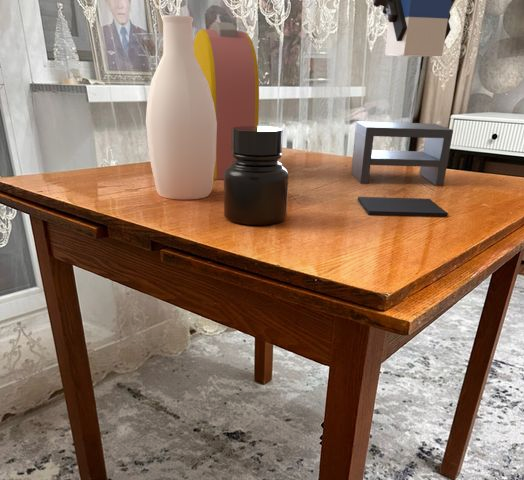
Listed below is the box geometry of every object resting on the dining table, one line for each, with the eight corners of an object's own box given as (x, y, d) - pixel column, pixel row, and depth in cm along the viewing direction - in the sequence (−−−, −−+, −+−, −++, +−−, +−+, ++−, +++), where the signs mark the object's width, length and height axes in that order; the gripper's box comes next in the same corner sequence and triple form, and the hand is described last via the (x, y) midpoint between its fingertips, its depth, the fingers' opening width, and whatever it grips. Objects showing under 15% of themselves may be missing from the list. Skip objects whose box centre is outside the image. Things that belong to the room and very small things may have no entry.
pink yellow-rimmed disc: (258, 178, 105) (262, 20, 93) (212, 179, 103) (210, 17, 90) (231, 161, 123) (232, 26, 111) (192, 161, 120) (187, 24, 108)
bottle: (139, 198, 87) (124, 12, 75) (165, 185, 96) (156, 19, 85) (205, 203, 85) (201, 13, 73) (225, 190, 94) (224, 20, 82)
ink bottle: (300, 218, 78) (306, 129, 72) (263, 230, 72) (266, 134, 66) (248, 207, 83) (249, 123, 78) (209, 218, 77) (207, 127, 71)
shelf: (426, 174, 114) (434, 123, 110) (443, 185, 104) (453, 129, 99) (351, 172, 114) (356, 121, 109) (360, 183, 103) (366, 127, 99)
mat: (428, 202, 90) (429, 198, 90) (447, 217, 82) (448, 213, 81) (357, 200, 90) (357, 196, 90) (368, 214, 81) (368, 210, 81)
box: (420, 56, 101) (430, -15, 95) (442, 56, 93) (455, -22, 87) (384, 55, 99) (392, -17, 94) (403, 54, 91) (413, -24, 86)
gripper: (441, -41, 103) (467, 55, 97) (341, -47, 100) (360, 51, 93) (460, -82, 96) (489, 18, 90) (353, -91, 93) (375, 13, 86)
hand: (423, 35), depth 92 cm, fingers closed on box, 7 cm apart
